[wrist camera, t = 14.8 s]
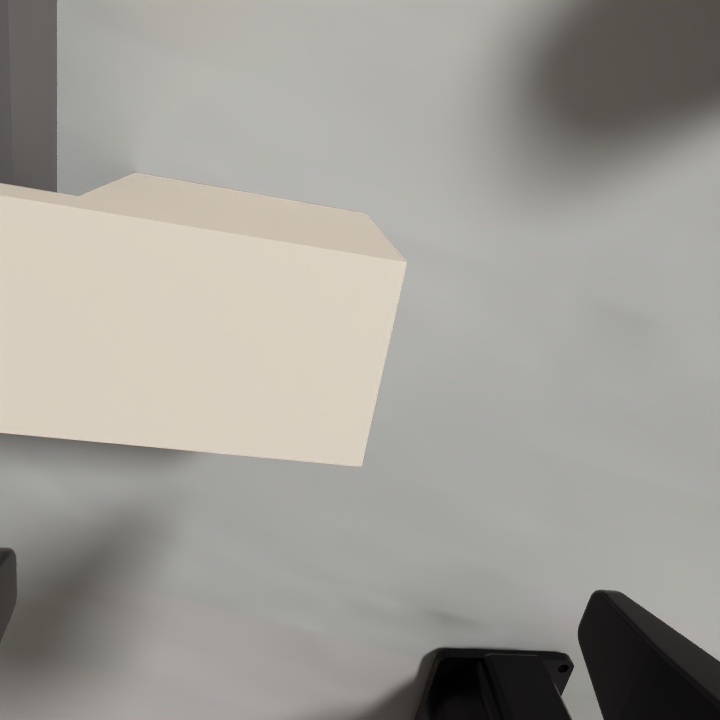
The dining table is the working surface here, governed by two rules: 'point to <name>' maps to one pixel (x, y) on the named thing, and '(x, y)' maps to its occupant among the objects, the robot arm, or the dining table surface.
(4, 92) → the orange grey square bar
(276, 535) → the dining table surface
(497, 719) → the robot arm
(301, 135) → the dining table surface
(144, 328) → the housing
